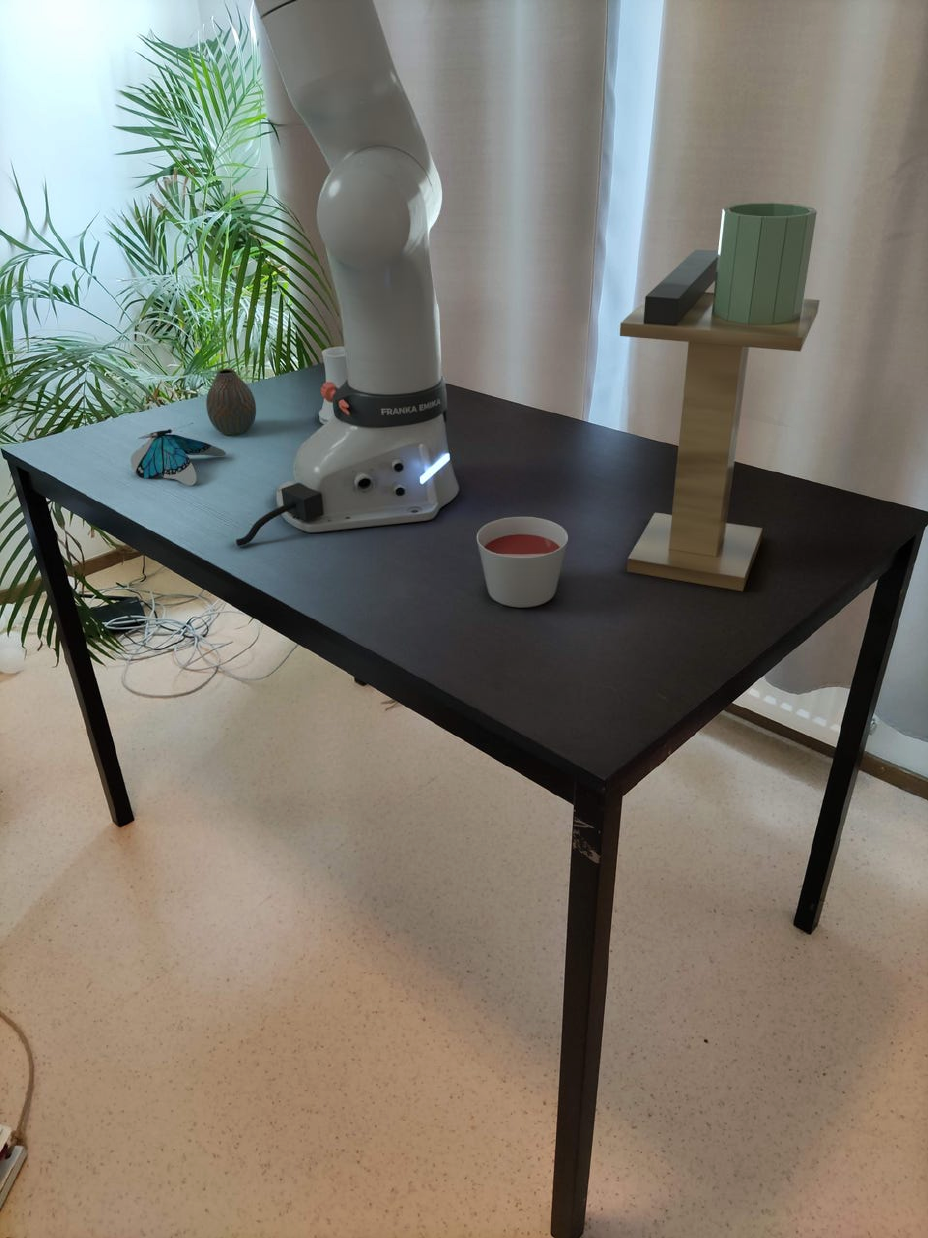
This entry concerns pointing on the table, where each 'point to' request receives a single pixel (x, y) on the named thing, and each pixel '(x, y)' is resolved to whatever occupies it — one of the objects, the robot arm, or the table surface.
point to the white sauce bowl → (522, 559)
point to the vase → (230, 404)
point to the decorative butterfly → (170, 456)
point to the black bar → (681, 288)
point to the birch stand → (708, 446)
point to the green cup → (763, 262)
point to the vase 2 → (333, 376)
